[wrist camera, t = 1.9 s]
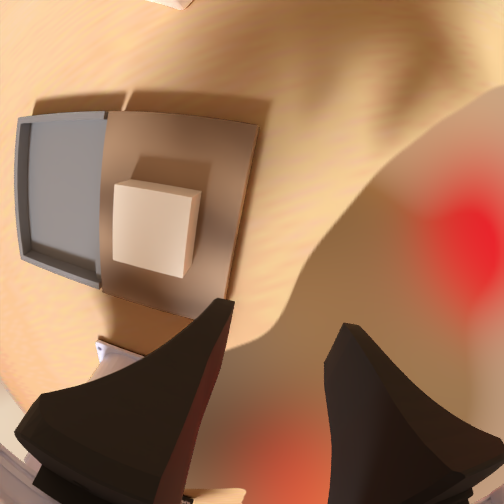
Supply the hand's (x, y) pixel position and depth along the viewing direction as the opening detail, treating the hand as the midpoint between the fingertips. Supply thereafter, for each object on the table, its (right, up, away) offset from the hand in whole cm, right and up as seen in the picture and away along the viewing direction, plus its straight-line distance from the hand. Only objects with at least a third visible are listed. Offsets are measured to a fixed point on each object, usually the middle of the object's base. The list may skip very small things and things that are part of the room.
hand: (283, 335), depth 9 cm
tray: (-18, +8, +10) cm, 22 cm away
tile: (-7, +5, +8) cm, 12 cm away
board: (-7, +6, +10) cm, 13 cm away
